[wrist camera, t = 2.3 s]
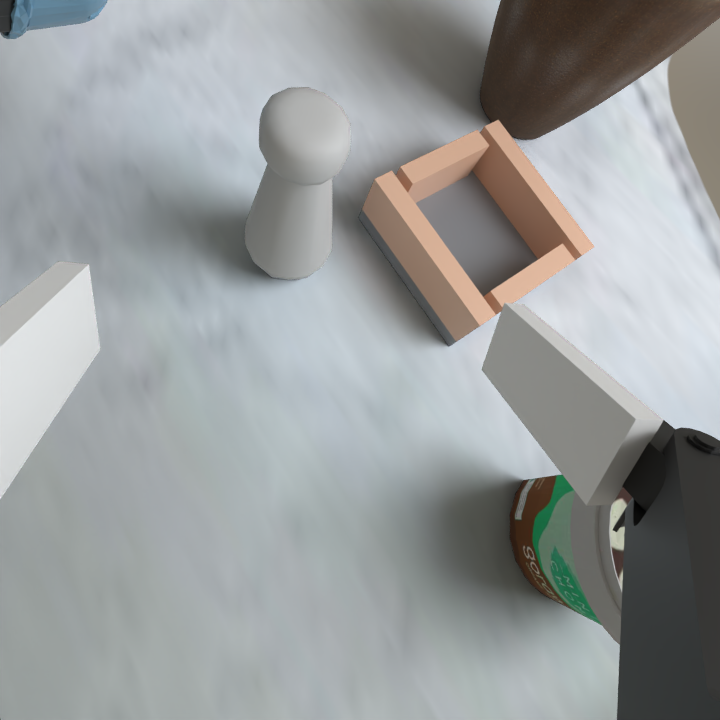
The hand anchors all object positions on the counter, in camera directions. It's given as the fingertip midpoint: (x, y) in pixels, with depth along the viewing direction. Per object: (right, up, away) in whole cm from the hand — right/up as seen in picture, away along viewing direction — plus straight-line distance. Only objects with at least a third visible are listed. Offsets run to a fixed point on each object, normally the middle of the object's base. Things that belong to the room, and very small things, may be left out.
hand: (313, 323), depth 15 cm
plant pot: (+16, +22, +27) cm, 38 cm away
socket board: (+9, +8, +21) cm, 24 cm away
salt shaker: (-4, +6, +18) cm, 19 cm away
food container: (+14, -15, +16) cm, 27 cm away
